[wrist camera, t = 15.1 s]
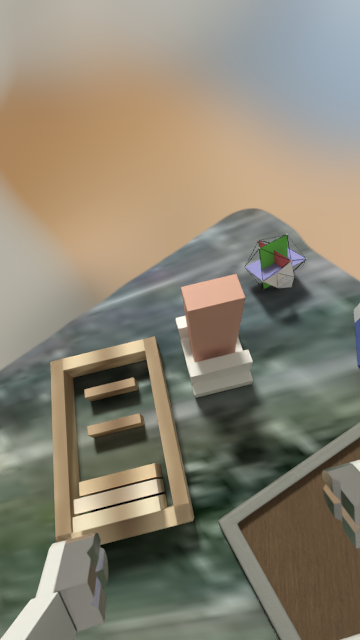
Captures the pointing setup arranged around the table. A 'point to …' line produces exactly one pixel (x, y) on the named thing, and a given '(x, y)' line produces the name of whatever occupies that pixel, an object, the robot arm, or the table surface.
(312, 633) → the framed brown board
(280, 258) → the geometric puzzle
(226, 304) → the salmon pink brick
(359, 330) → the walkman
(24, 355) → the table surface
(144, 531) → the offcut rack
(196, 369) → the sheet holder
